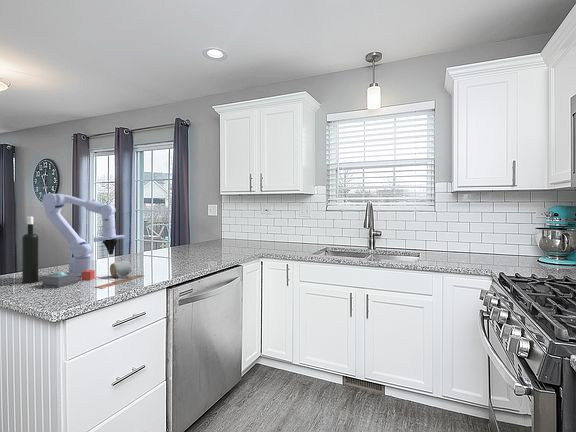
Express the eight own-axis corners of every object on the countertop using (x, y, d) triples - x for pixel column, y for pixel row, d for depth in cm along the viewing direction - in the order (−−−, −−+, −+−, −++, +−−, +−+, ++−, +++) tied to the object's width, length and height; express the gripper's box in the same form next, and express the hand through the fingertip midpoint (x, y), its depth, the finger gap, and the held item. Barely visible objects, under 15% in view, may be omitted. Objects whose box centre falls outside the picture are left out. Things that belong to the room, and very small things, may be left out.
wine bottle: (36, 279, 152) (36, 216, 151) (40, 282, 148) (39, 216, 148) (20, 282, 148) (20, 216, 147) (24, 284, 144) (24, 216, 143)
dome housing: (42, 285, 142) (42, 275, 142) (61, 281, 150) (61, 271, 150) (58, 287, 140) (58, 277, 139) (76, 283, 148) (76, 273, 148)
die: (81, 280, 154) (81, 271, 154) (86, 278, 158) (86, 269, 158) (90, 280, 154) (90, 271, 154) (94, 278, 158) (94, 269, 158)
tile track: (95, 287, 141) (95, 287, 141) (137, 275, 167) (137, 274, 167) (102, 288, 140) (102, 287, 140) (144, 276, 166) (144, 275, 166)
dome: (49, 282, 143) (49, 272, 143) (60, 279, 148) (60, 269, 148) (59, 283, 142) (59, 273, 141) (70, 280, 147) (70, 270, 147)
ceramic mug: (108, 276, 163) (108, 261, 163) (125, 273, 169) (125, 259, 169) (117, 280, 156) (117, 264, 156) (134, 277, 163) (134, 262, 162)
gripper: (97, 229, 158) (99, 256, 159) (126, 226, 170) (128, 252, 170) (91, 229, 162) (93, 256, 163) (120, 226, 174) (122, 251, 175)
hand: (110, 254), depth 167 cm, fingers closed
